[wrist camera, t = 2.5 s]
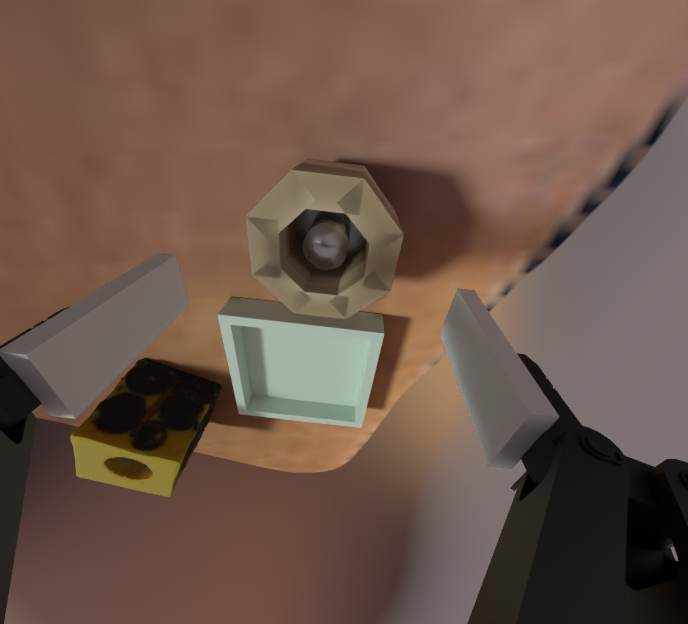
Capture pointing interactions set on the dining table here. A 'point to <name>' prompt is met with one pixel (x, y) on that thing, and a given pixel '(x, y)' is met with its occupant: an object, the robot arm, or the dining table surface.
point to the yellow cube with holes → (145, 429)
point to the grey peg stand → (327, 238)
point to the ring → (287, 252)
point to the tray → (300, 362)
